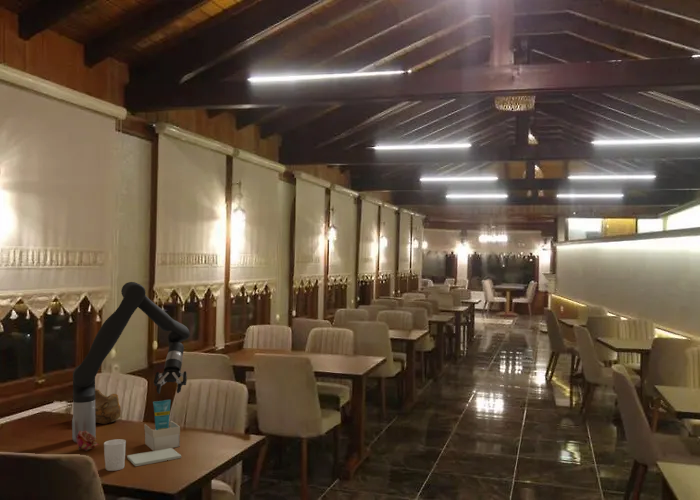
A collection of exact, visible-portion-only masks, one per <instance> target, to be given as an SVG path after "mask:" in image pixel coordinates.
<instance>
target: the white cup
mask: <svg viewBox="0 0 700 500" xmlns="http://www.w3.org/2000/svg"><path fill="white" fill-rule="evenodd" d="M126 444H127V440H126V439H122V438H121V439H119V438H118V439H117V438H116V439H110V440H106V441H105V442H103V451H104V452H103V453H104V456H103V457H104V464H105V466H104V467H105V470H106V471H109V472H113V471H119V470H123V469H124V468H125V462H126V461H125V460H126V448H127V447H126Z"/></svg>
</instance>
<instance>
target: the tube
mask: <svg viewBox="0 0 700 500" xmlns="http://www.w3.org/2000/svg"><path fill="white" fill-rule="evenodd" d="M171 402H172V399H164V400H159V401H158V400H156V401H152V404H153V405H152V406H153V412H154V413H153V414H154V425H155V427H154V428H155V429H154V430H161V429H167V428H169V427H170V412H171Z"/></svg>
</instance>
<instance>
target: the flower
mask: <svg viewBox="0 0 700 500" xmlns="http://www.w3.org/2000/svg"><path fill="white" fill-rule="evenodd" d="M76 439H77V442H76V444H77V446H78V449H77V450H78V451H81V450H82V449H83V451H87V452H89V450H91V449H94V448H95V447H96V446H99V443H98V442H96V440H97V437H94V436H93V435H91V434H90V433H89V432H87V431H79V433H78V434H77V436H76Z"/></svg>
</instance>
